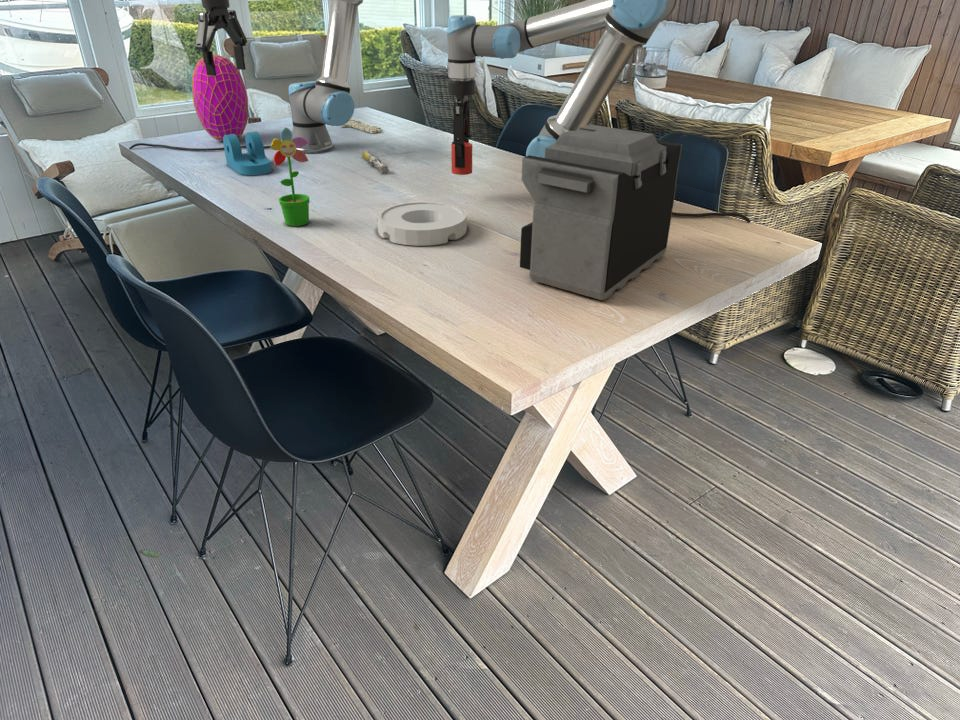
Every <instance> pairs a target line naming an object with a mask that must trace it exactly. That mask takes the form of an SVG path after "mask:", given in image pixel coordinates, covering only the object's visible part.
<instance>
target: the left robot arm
mask: <svg viewBox="0 0 960 720" xmlns="http://www.w3.org/2000/svg"><path fill="white" fill-rule="evenodd" d="M200 2H201V7H202V8H203V9H205V12H198V13H197V20H198V23H197V31H196V38H195V49H196V50H197V51H199V52H201V54H202V58H203V59H204V63H205V66H206V71H207V75H211V76H216V70H215V64H214V59H213V55H214V54H213V51H212V50H211V47H212V45H213V41H214V38H215V35H216V33H217V31H219V30H222V29H223V30H224V31H225V33H226V34H227V36H228V37H229V38H230V40H231V41H232V43H233V47H232V48H233V54H234V58H235V59H234V60H235V67H236V68H237V69H238V70H242V71H245V70H246V62H245V52H244V47H246V46H247V43H248V39H247V37H246V35H245V33H244V30H243V28H242V26H241V24H240V21H239V20H238V15H237V11H236V10H233V9H229V8H230V7H231V6H230V0H200ZM363 3H364V0H331V1H330V10H329V15H328V16H329V18H328V25H327V31H326V38H325V39H326V40H325V48H324V55H323V62H322V70H321V75H320V77H319V78H317V79H316V80H311V81H303V82H302V81H301V82H294V83H290V84H289V86H288V97H289V107H290V113H291V121H292V131H291V134H292V139H293V138H295V137H299V136H300V137H304V138H305V139H307V140H308V141H309V143H307V144H306V145H305V146H303V147H301V148H297V149H299V150H301V151H302V152H304V153H305V154H317V153H318V154H319V153H324V152H329V151H331V150H332V149H333V148H334V147H333V146H334V145H333V140H332V139H331V135H330V133H329V130H328V128H327V126H331V127H342V125H344V124H346V123H347V122H348V121H349V120H350V119H352V117H353V116H354V112H355V101H354V100H353V97H352V95H351V86H350V85H349V83H348V76H349V69H350V61H351V55H352V47H353V41H354V34H355V27H356V19H357V13H358V7H359V6H361V5H362V4H363ZM138 146H139V147H140V146H145V147H154V148H165V149H166V148H167V149H173V150H182V151H193V152H194V151H195V152H197V151H198V152H209V151H213V152H214V151H225V150H224V147H211V148H210V147H209V148H208V147H207V148H206V147H205V148H200V147H199V148H197V147H196V148H194V147H183V146H182V147H181V146H172V145H166V144H155V143H154V144H153V143H146V142H145V143H144V142H139V143H134V144H132V145H131V146H130V147H128V150H132V149H133V148H136V147H138ZM240 146H241V149H247V147H246V145H240ZM264 149H272V148H271V145H264Z"/></svg>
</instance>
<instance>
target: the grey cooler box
mask: <svg viewBox="0 0 960 720" xmlns="http://www.w3.org/2000/svg"><path fill="white" fill-rule="evenodd" d="M682 147H683V144H682V143H677V142H671V141H665V140H658V139H656V136H655V134H654V133H649V132H643V131H636V130H629V129H623V128H616V127H610V126H603V125H597V124H591V125H590V124H589V125H586V126H583V127H580V128H579V130H577V131H569V132H566V133H563V134H561V135H560V137H559V138H558V140H557V141H556V143H554V144H552V145H550V146H548V147H545V158H541V157H536V156H530V155H529V156H526V155H525V156H523V157H522V161H521V182H522V183H523V185H524V186H525V188H526V190H527V192H528V193H529V195H530V197H531V199H532V200H533V201H534V204H533V209H532V222H530V223H528V224H526V225H524V226H522V227H521V230H520V231H521V232H520V251H519V268H521V269H525V270H528V271H529V278H530V280H531V281H534V282H537V283H541V284H544V285H547V286H551V287H554V288H558V289H561V290H565V291H568V292H572V293H575V294H579V295H582V296H585V297H589V298H591V299H592V298H593V299H596V300H599V301H606V300H608V299H609V298H610V297H611V296H612V295H613V293H614V292H615V291H616V290H621V289H622V288H624V287H625V285H626V284H627V282H628V281H629V280H634V279H635V278H637V277H638V276H639V275H640V273H641V272H642V271H643V270H647V269H649V268H650V267H651V266H652V265H653V263H654V262H655V261H659V260H661V259H662V258H663V257H664V255H665V253H666V252H667V248H668V242H669V236H670V228H671V223H672V222H671V221H672V216H673V215H672V212H673V210H674V203H675V198H676V192H677V191H676V190H677V180H678V173H679V168H680V167H679V166H680V162H681V161H680V160H681V154H682V149H683V148H682Z"/></svg>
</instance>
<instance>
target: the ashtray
mask: <svg viewBox="0 0 960 720" xmlns="http://www.w3.org/2000/svg"><path fill="white" fill-rule="evenodd" d="M467 217H468V216H467V211H465V210H464V209H463V208H462V207H460V206H457V205H455V204H451V203H448V202H442V201H432V200H431V201H430V200H414V201H407V202H400V203H395V204H392V205H388V206H386V207H383V208H382V209H381V210H379V212H378V213H377V217H376V219H377V233H378V235H379V236H380V238H382V239H389V242H391V243H394V244H399V245H403V246H415V247H420V246H421V247H422V246H423V247H425V246H438V245H444V244H447V243H448V242H449V241H451V240H452V241H457V240H459V239H461V238H462V237H464V236H465V235H466V233H467V231H468V228H467V227H468V226H467V225H468V224H467V223H468V218H467Z"/></svg>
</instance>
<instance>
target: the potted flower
mask: <svg viewBox="0 0 960 720" xmlns="http://www.w3.org/2000/svg"><path fill="white" fill-rule="evenodd" d="M307 143H309V141H308V140H307V139H305V138H304V137H300V136H299V137H295V138H293V139H292V131H291V130H290V128H288V127H284V128H283V129H282V130H281V131H280V139H279V138H273V139H272V141H271V145H270V146H271V148H270V149H272V150H274V151H275V153H274V155H273V163H274V165H275V167H277V166H282V164H283V163H285V161H286V158H287V164H288V165H287V166H288V171H289V178H284V179H282V180H281V181H280V184H281V185H282V186H285V187H291V193H290V194H286V195H282V196H280V197H279V198H278V202H279V205H280V207H281V210H282V215H283V219H284V223H285V225H287V226H290V227H291V226H292V227H301V226H304V225H306V224H309V222H310V206H309V205H310V196H309V195H307V194H303V193H296V192H295V191H296V190H295V184H294V178H296V177H297V176H299V174H300V173H299V171H297V170H295V171H293V168H292V162H291V161H292V160H291V159H293V160H294V161H296V162H297V163H307V162H309V158H308V156H307V155H306V153H304V152H302V151H301V150H299V149H297V148H301V147H303V146H305V145H306V144H307Z"/></svg>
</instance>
